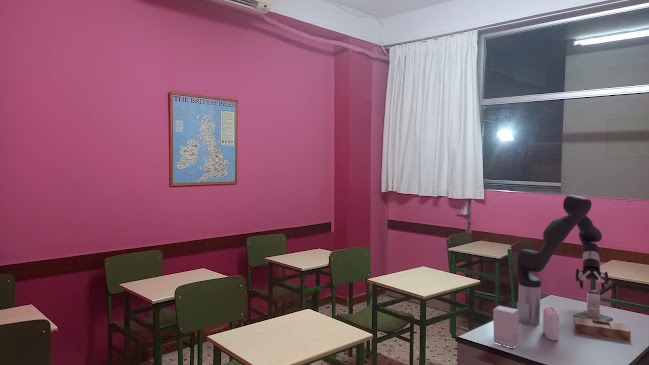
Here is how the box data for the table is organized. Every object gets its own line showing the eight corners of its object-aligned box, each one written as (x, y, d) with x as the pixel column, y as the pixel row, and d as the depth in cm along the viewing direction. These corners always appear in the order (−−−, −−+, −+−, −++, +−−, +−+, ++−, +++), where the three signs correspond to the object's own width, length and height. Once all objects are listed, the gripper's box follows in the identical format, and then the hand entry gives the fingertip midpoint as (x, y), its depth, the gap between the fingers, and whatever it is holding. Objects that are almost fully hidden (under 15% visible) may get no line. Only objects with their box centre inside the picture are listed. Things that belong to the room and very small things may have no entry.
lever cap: (598, 315, 215) (599, 289, 214) (599, 319, 210) (600, 292, 209) (586, 313, 217) (587, 287, 217) (587, 317, 212) (588, 291, 211)
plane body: (626, 333, 195) (627, 324, 195) (630, 341, 187) (630, 331, 187) (574, 325, 204) (574, 316, 204) (575, 332, 196) (575, 323, 196)
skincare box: (519, 345, 181) (520, 309, 181) (512, 350, 177) (513, 313, 176) (498, 339, 187) (499, 304, 187) (492, 343, 183) (493, 307, 182)
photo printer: (541, 331, 197) (542, 303, 196) (552, 332, 196) (553, 304, 195) (548, 340, 187) (549, 311, 186) (559, 341, 186) (560, 312, 185)
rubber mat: (600, 324, 205) (600, 322, 205) (573, 316, 215) (573, 314, 215) (612, 319, 212) (612, 317, 212) (586, 312, 222) (586, 310, 222)
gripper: (575, 256, 233) (576, 283, 223) (608, 259, 227) (610, 287, 217) (574, 264, 238) (575, 291, 228) (606, 267, 232) (608, 295, 222)
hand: (592, 289), depth 223 cm, fingers open, 8 cm apart
